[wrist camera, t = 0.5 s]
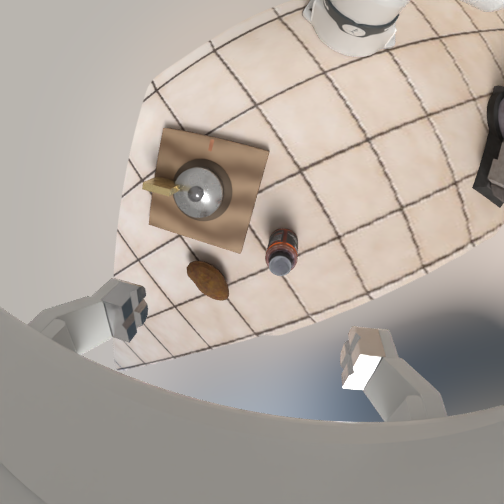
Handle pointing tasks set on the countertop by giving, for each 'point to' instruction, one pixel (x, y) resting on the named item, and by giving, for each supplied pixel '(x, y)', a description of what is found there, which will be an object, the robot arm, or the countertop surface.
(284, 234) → the supplement bottle
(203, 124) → the countertop surface
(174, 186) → the grey round gold-handled piece
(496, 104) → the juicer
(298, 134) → the countertop surface
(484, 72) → the countertop surface
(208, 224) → the panel
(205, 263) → the potato
